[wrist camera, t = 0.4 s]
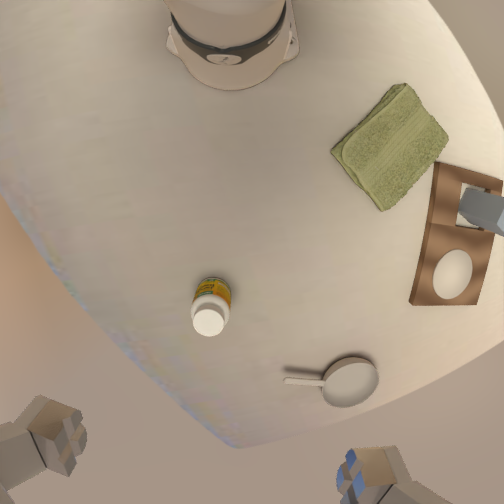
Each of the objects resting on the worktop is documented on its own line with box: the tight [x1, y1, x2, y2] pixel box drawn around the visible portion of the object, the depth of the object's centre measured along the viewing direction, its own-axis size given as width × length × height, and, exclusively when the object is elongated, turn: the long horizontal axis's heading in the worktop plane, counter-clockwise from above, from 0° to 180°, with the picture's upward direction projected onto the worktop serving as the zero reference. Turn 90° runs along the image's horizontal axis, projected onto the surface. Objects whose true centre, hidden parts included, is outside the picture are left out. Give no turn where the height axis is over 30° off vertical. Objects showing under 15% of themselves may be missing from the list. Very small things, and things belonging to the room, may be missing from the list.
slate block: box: [458, 188, 504, 237], centre depth 41 cm, size 4×4×11 cm
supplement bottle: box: [191, 278, 231, 336], centre depth 44 cm, size 5×5×10 cm
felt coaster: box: [432, 249, 472, 299], centre depth 47 cm, size 9×9×1 cm
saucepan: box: [284, 357, 379, 408], centre depth 52 cm, size 11×18×4 cm, turn 77°
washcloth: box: [331, 83, 449, 212], centre depth 42 cm, size 13×18×3 cm
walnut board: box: [409, 162, 503, 306], centre depth 47 cm, size 24×16×2 cm, turn 175°
